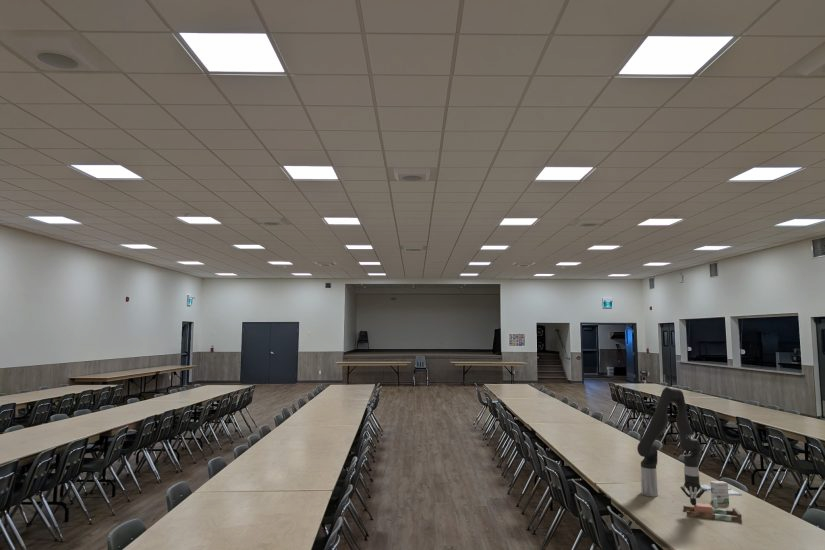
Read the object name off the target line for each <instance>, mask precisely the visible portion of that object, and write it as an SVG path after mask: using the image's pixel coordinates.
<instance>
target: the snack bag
mask: <svg viewBox="0 0 825 550" xmlns="http://www.w3.org/2000/svg"><path fill="white" fill-rule="evenodd" d="M700 486H701V488H703V489H704V490H705V492H708V493H710V494H711V485H710V484H700ZM728 494H729V496H742V493H741V492H737V491H736V490H734V489H732V488H731V487H728Z"/></svg>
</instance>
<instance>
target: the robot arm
mask: <svg viewBox="0 0 825 550" xmlns="http://www.w3.org/2000/svg"><path fill="white" fill-rule="evenodd" d="M685 400H686V399H685V396H684V392H683V391H682V390H681V389H680V388H676V387H671V386H670V387H668V386H666V387H664V388H663V390H662V392H661V394H660V396H659V401H658V403H657V406H656V407H655V410H654V413H653V415H652V417H651V419H650V421H649V424H648V426H647V427H646V430H645V432H644V434H643V436H642V438H641V439H640V440H639V442H638V445H637V453H638V454H639V456H641V457H643V459H642V460H641V461H640V474H641V475H640V476H641V477H640V484H641V485H640V486H641V487H640V488H641V494H642V496H646V497H654V498H655V497H658V495H659V494H658V491H659V490H658V475H657V474H658V472H657V465H658V447H657V445H656V443H655V441H656V440H657V439H658V438H659V436H661V435H663V433H664V431H665V430H666V428H667V426H668V424H669V416H668V407H669V405H670V404H671V403H673V404H675V406H676V407H677V415H676V417H675V422H676V426H677V429H678V433H679V446H680V448H681V450H683V452H690V453H689V454H685V455H684V456H683V457H684V458H683V459H684V462H683V463H684V469H683V470H684V471H683V473H684V484H683V485H682V486H680V490H681V491H682V492H683V493H684V494H685V495H686V497H688V498H689V502H690V505H691V506H694V505H695V504H696V503H697V499H700V498H701V497H702V495H703V494H704V493H705V492H706V490H704V489H703V488H701V486H700V485H701V484H700V481H701V480H700V470H699V456H700V452H701V442H700V441H699V440H698V439H696V438H687V437H689V436H691V435H692V434H693V429H692V427H691V426H692V425H691V424H690V420H689V418H688V417H689V416H688V412H687V407H686V406H687V405H686V401H685ZM686 490H687V491H688V492H687V491H686Z"/></svg>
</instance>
